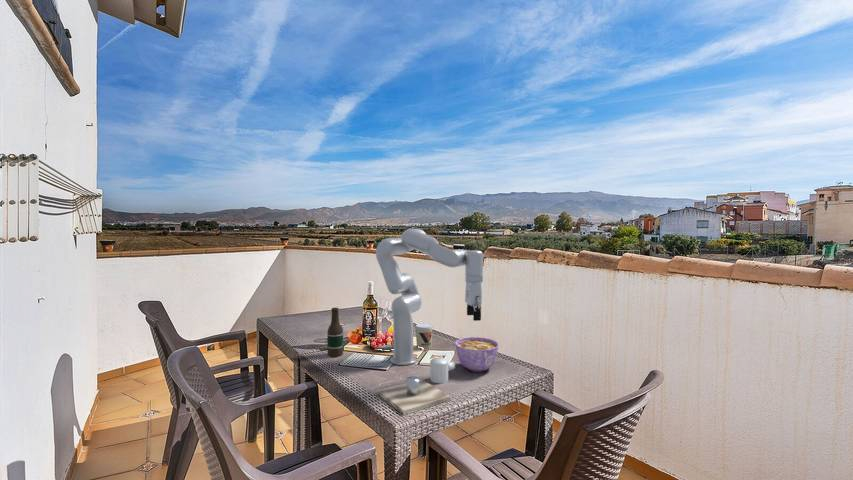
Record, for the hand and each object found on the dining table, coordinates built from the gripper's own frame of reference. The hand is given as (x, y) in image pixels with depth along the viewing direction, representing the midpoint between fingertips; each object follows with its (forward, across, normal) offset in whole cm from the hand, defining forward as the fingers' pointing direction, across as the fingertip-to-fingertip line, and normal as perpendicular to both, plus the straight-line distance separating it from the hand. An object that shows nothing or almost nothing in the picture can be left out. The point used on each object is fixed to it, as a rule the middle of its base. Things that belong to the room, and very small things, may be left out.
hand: (473, 317), depth 167 cm
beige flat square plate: (+25, +18, -29) cm, 42 cm away
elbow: (+25, +2, -14) cm, 29 cm away
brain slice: (+26, -45, -36) cm, 63 cm away
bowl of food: (+25, -7, +4) cm, 26 cm away
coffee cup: (+26, -41, -15) cm, 51 cm away
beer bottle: (+26, -37, -61) cm, 76 cm away
